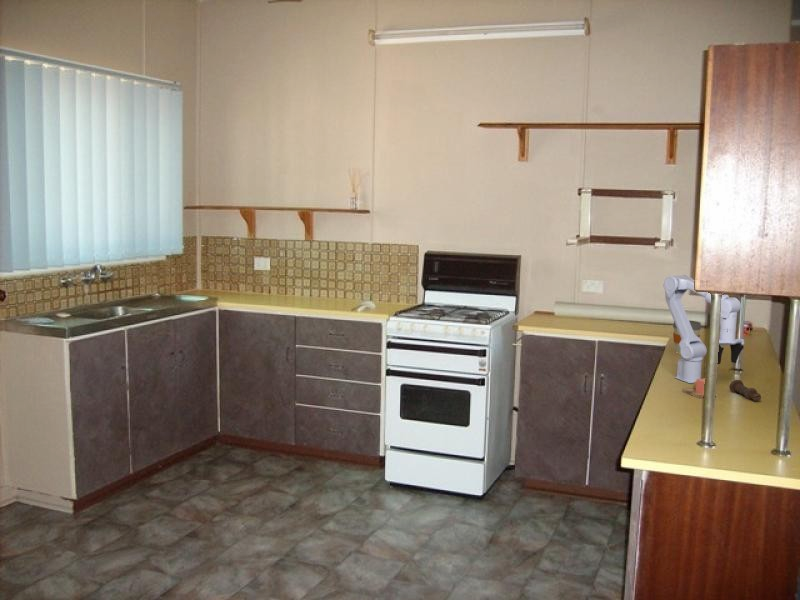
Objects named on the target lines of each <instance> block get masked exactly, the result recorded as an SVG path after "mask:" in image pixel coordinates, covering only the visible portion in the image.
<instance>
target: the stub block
mask: <svg viewBox="0 0 800 600" xmlns="http://www.w3.org/2000/svg"><path fill="white" fill-rule="evenodd" d="M681 391H682V393H685V394H687V395H690V396H692V395H693V397H695V398H697V397H698V399H704V398H703V395H702V394H700V393H697V392H695V391H696V382H694V383H693V387H688V388H682V390H681ZM715 398H718V393H716V397H715Z"/></svg>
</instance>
